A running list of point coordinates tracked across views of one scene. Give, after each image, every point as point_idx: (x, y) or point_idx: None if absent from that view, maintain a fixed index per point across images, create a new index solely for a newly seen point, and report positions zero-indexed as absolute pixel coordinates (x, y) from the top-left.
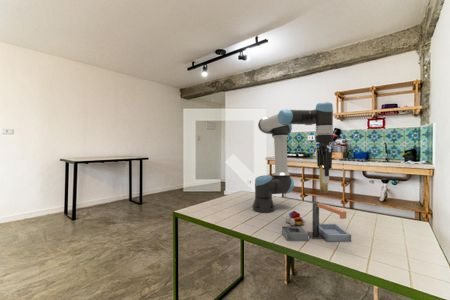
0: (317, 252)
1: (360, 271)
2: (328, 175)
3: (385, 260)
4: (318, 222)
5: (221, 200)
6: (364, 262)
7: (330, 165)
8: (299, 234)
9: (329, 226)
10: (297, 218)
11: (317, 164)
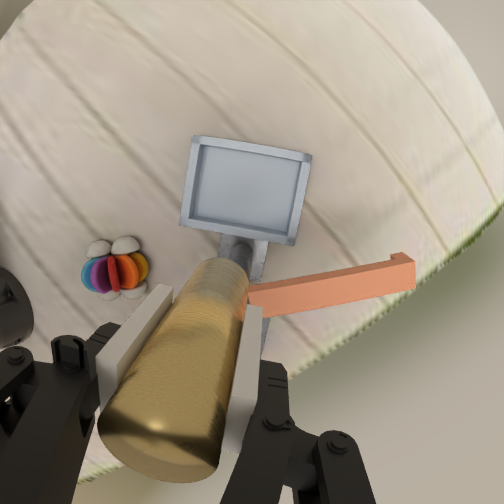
0: (345, 312)
1: (442, 263)
2: (285, 373)
3: (425, 155)
4: (249, 267)
5: None
6: (420, 221)
7: (355, 479)
8: (265, 335)
9: (198, 167)
10: (137, 281)
11: (17, 413)
